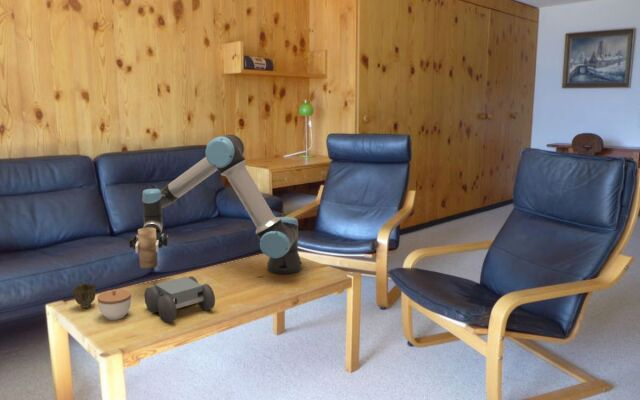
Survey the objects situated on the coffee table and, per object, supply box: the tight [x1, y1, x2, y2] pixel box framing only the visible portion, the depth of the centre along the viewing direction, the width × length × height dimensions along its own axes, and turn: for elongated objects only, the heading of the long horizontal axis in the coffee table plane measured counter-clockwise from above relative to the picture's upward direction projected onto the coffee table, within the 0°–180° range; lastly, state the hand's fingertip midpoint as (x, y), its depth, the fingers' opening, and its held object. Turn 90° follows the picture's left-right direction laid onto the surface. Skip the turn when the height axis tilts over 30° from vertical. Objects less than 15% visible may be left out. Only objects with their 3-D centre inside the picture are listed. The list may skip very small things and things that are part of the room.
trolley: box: [143, 276, 216, 323], centre depth 186 cm, size 17×19×10 cm
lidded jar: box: [97, 288, 132, 321], centre depth 181 cm, size 11×11×9 cm
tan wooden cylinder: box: [137, 227, 159, 269], centre depth 196 cm, size 6×6×14 cm
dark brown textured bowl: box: [72, 282, 97, 310], centre depth 187 cm, size 8×7×8 cm
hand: (146, 249), depth 191 cm, fingers closed on tan wooden cylinder, 6 cm apart
